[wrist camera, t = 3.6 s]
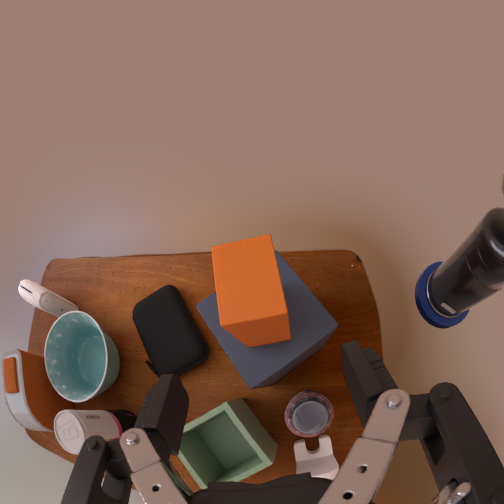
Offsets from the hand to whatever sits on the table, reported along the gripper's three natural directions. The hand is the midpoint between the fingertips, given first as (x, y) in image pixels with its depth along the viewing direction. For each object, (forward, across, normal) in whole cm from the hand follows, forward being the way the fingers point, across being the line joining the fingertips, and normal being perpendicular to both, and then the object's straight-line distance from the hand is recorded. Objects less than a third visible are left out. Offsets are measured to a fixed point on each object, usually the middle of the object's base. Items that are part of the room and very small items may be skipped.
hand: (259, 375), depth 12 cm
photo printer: (+34, +43, +8) cm, 55 cm away
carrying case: (+28, +17, +14) cm, 36 cm away
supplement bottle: (+17, -2, +24) cm, 30 cm away
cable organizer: (+10, -2, +31) cm, 33 cm away
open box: (+15, +9, +26) cm, 32 cm away
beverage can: (+16, +28, +25) cm, 41 cm away
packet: (+13, 0, +4) cm, 14 cm away
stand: (+25, 0, +16) cm, 30 cm away
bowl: (+25, +32, +16) cm, 44 cm away
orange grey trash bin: (+20, +45, +22) cm, 54 cm away
